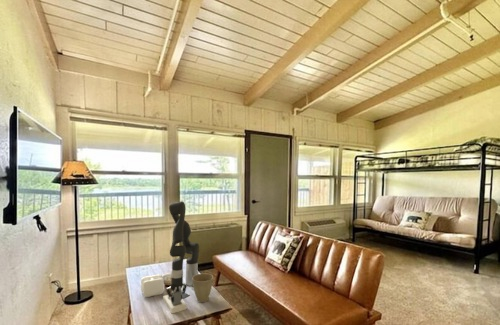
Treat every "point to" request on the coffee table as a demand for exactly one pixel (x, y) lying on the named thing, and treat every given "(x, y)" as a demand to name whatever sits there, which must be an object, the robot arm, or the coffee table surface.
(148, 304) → the coffee table surface
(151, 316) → the coffee table surface
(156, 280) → the cable organizer
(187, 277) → the robot arm
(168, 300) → the outlet plate
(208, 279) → the plant pot
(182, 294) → the phone slab
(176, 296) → the block
